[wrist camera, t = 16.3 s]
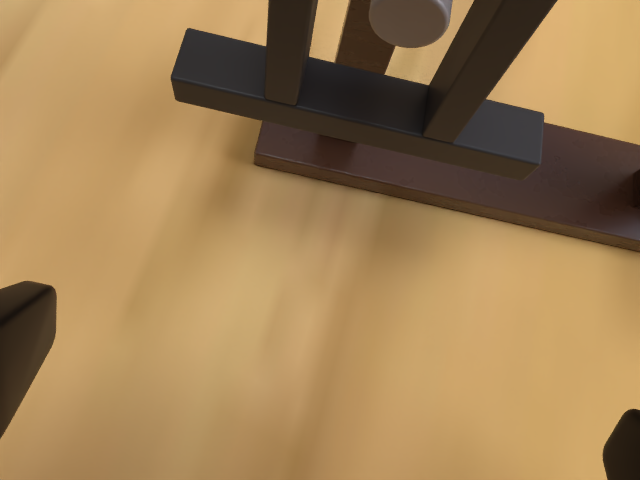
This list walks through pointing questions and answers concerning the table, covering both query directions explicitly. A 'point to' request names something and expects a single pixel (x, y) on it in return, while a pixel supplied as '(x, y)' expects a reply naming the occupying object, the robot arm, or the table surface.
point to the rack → (458, 182)
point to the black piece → (377, 88)
